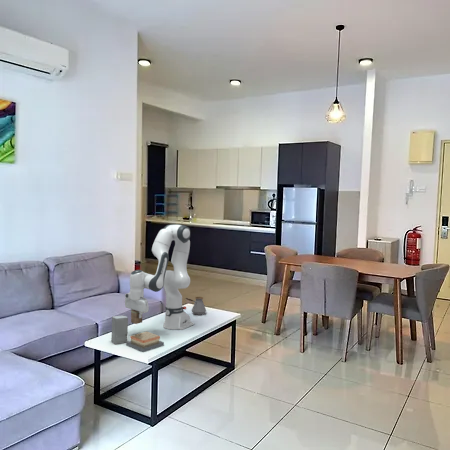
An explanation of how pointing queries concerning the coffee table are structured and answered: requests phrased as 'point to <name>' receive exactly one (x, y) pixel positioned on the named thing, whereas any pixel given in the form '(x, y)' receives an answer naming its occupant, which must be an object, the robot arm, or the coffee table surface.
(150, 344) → the stand
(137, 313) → the walnut column
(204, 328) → the coffee table surface
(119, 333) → the skincare box
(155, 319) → the coffee table surface
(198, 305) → the coffee pot
